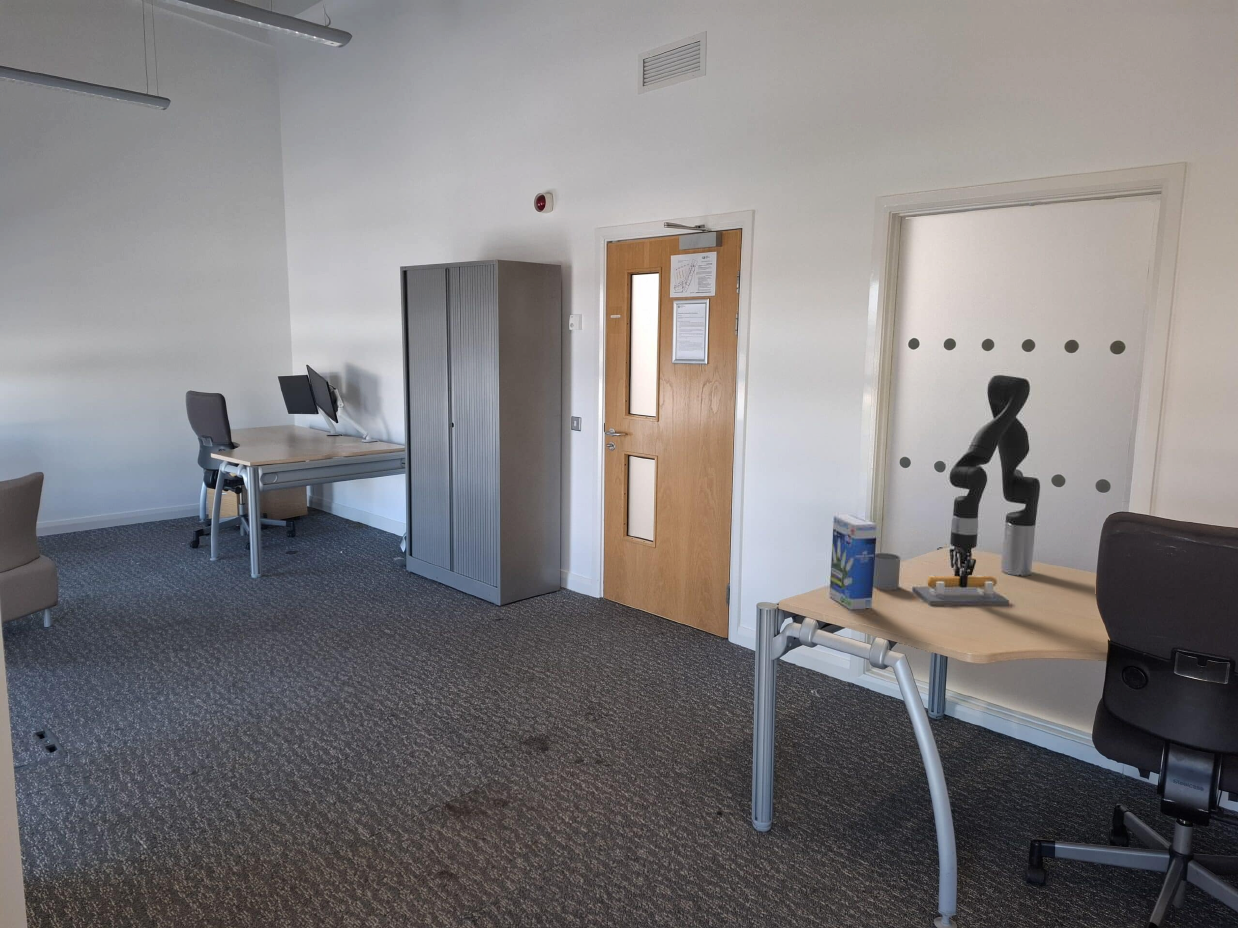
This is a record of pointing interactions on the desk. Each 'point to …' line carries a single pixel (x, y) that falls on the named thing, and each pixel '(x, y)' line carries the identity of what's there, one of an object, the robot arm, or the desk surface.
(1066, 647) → the desk surface
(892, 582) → the cup
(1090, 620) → the desk surface
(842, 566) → the string lights box
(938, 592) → the board
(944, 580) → the orange rod
